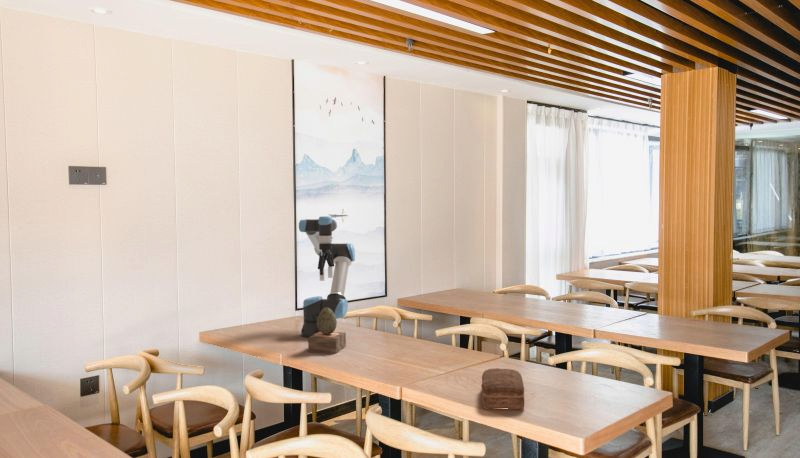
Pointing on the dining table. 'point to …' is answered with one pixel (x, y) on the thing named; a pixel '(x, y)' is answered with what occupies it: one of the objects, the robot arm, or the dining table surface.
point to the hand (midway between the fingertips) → (326, 279)
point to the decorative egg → (326, 321)
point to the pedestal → (327, 342)
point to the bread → (502, 389)
